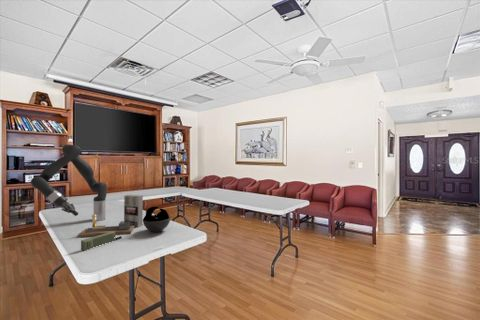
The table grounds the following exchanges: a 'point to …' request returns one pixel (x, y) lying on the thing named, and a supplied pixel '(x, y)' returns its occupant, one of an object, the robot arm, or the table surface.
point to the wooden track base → (104, 231)
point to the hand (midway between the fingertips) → (77, 214)
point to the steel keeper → (124, 225)
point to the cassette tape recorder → (133, 209)
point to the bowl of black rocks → (156, 219)
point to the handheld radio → (98, 240)
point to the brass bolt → (95, 223)
